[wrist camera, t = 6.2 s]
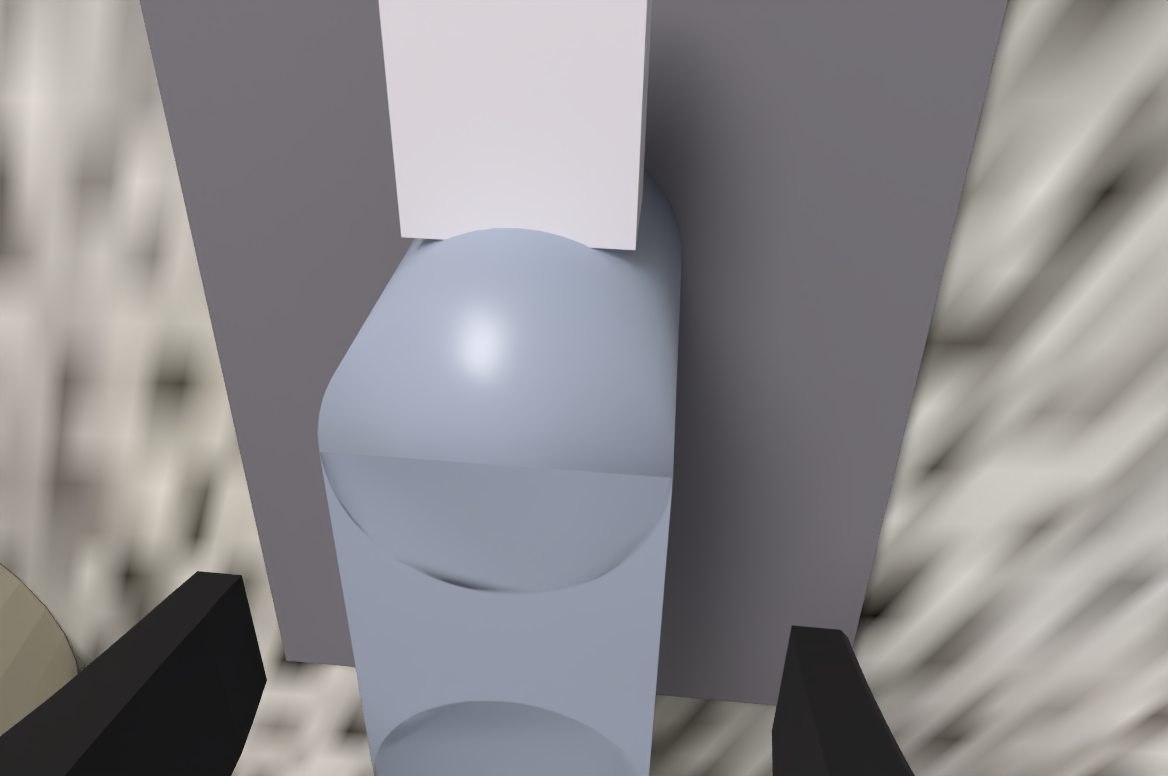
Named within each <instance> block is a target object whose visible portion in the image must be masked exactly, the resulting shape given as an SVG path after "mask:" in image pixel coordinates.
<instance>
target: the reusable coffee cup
mask: <svg viewBox="0 0 1168 776" xmlns="http://www.w3.org/2000/svg"><path fill="white" fill-rule="evenodd" d="M77 674H78V672H77V665H76V660H75V658H74V655H73V653H72V651H71V648H70V646H69V644H68V641H67V639H66V637H65V634H64V633H63V632H62V630H61V629H60V627H59V626H58V624H57V623H56V621H55V620H54V618H53V617H52V615H51V614H50V613H49V611H48V610H47V608H46V607H45V606H44V605H43V604H42V603H41V602H40V601H39V600H38V599H37V597H36V596H35V595H34V594H33V593H32V592H31V591H30V590H29V589H28V588H27V587H26V586H25V585H24V584H23V583H22V582H21V581H20V580H19V579H18V578H17V577H15V576H14V575H13V574H12V573H10V572H9V571H8V570H7V569H5V568H4V567H3V566H2V565H1V564H0V736H1V735H2V734H4V733H5V732H6V731H8V730H9V729H10V728H11V727H13V726H14V725H15V724H17V723H18V722H19V721H20V720H22V719H23V718H24V717H26V716H27V715H28V714H29V713H31V712H32V711H33V710H34V709H36V708H37V707H38V706H40V705H41V704H42V703H43V702H45V701H46V700H47V699H48V698H50V697H51V696H52V695H53V694H55V693H56V692H57V691H58V690H59V689H61V688H62V687H63V686H64V685H65V684H67V683H68V682H69V681H70V680H71V679H73V678H74V677H75V676H76V675H77Z"/></svg>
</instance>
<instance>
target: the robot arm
mask: <svg viewBox="0 0 1168 776" xmlns="http://www.w3.org/2000/svg"><path fill="white" fill-rule="evenodd" d="M266 681H267V679H266V675H265V671H264V666H263V662H262V658H261V654H260V650H259V646H258V641H257V637H256V633H255V629H254V625H253V621H252V616H251V612H250V608H249V604H248V600H247V596H246V591H245V587H244V583H243V579H242V575H232V574H221V573H210V572H199V571H198V572H196V573H195V574H194V575H193V576H192V577H190V578H189V579H188V580H187V581H186V582H185V583H183V584H182V585H181V586H180V587H179V588H177V589H176V590H175V591H174V592H173V593H172V594H170V595H169V596H168V597H167V598H166V599H165V600H163V601H162V602H161V603H160V604H159V605H158V606H156V607H155V608H154V609H153V610H152V611H151V612H150V613H148V614H147V615H146V616H145V617H144V618H143V619H142V620H140V621H139V622H138V623H137V624H136V625H135V626H134V627H132V628H131V629H130V630H129V631H128V632H127V633H126V634H124V635H123V636H122V637H121V638H120V639H119V640H117V641H116V642H115V643H114V644H113V645H112V646H111V647H109V648H108V649H107V650H106V651H105V652H104V653H102V654H101V655H100V656H99V657H98V658H96V659H95V660H94V661H93V662H92V663H90V664H89V665H88V666H87V667H86V668H84V669H83V670H82V671H81V672H80V673H79V674H77V675H76V676H75V677H74V678H73V679H71V680H70V681H69V682H68V683H67V684H65V685H64V686H63V687H62V688H61V689H59V690H58V691H57V692H56V693H55V694H53V695H52V696H51V697H50V698H48V699H47V700H46V701H45V702H43V703H42V704H41V705H40V706H38V707H37V708H36V709H34V710H33V711H32V712H31V713H29V714H28V715H27V716H26V717H24V718H23V719H22V720H20V721H19V722H18V723H17V724H15V725H14V726H13V727H11V728H10V729H9V730H8V731H6V732H5V733H4V734H2V735H1V736H0V776H231V775H232V773H233V771H234V768H235V766H236V764H237V762H238V760H239V758H240V756H241V753H242V751H243V748H244V745H245V742H246V740H247V737H248V734H249V731H250V729H251V726H252V723H253V720H254V717H255V714H256V711H257V708H258V705H259V702H260V699H261V696H262V693H263V690H264V687H265V684H266ZM772 758H773V776H915V775H914V774H913V772H912V770H911V768H910V766H909V765H908V763H907V761H906V759H905V757H904V756H903V754H902V752H901V750H900V748H899V746H898V744H897V743H896V741H895V739H894V737H893V735H892V733H891V731H890V729H889V727H888V725H887V723H886V721H885V719H884V717H883V715H882V713H881V711H880V709H879V707H878V705H877V703H876V701H875V699H874V697H873V694H872V692H871V690H870V688H869V686H868V684H867V681H866V679H865V677H864V675H863V672H862V670H861V668H860V666H859V663H858V661H857V658H856V656H855V654H854V651H853V649H852V646H851V644H850V641H849V638H848V637H847V636H846V635H845V634H844V633H843V631H842V630H838V629H827V628H816V627H805V626H794V625H792V626H791V632H790V637H789V643H788V648H787V653H786V659H785V664H784V669H783V675H782V680H781V685H780V691H779V696H778V702H777V707H776V712H775V718H774V723H773V728H772Z"/></svg>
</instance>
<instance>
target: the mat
mask: <svg viewBox="0 0 1168 776" xmlns="http://www.w3.org/2000/svg"><path fill="white" fill-rule="evenodd" d="M1007 2H1008V0H652V12H651V33H650V53H649V74H648V94H647V115H646V135H645V156H644V169H645V170H646V171H647V172H648V173H649V174H650V175H651V177H652V178H653V179H654V180H655V181H656V183H657V184H658V185H659V186H660V188H661V189H662V191H663V193H664V194H665V196H666V197H667V199H668V201H669V203H670V205H671V207H672V210H673V212H674V214H675V217H676V220H677V224H678V227H679V231H680V238H681V245H682V263H681V288H680V313H679V338H678V363H677V388H676V413H675V438H674V463H673V483H672V495H671V508H670V520H669V533H668V545H667V558H666V570H665V583H664V595H663V608H662V620H661V632H660V645H659V657H658V670H657V682H656V694H657V695H668V696H678V697H689V698H700V699H711V700H722V701H733V702H744V703H755V704H766V705H776V706H777V702H778V696H779V691H780V685H781V680H782V675H783V669H784V664H785V659H786V653H787V648H788V643H789V637H790V632H791V626H792V625H794V626H805V627H816V628H827V629H838V630H842V631H843V633H844V634H845V635H846V636H847V637H848V638H849V641H850V644H851V646H852V648H853V643H854V639H855V635H856V631H857V627H858V623H859V618H860V614H861V610H862V606H863V602H864V598H865V593H866V589H867V585H868V581H869V577H870V573H871V568H872V564H873V560H874V556H875V552H876V548H877V543H878V539H879V535H880V531H881V527H882V523H883V518H884V514H885V510H886V506H887V502H888V498H889V493H890V489H891V485H892V481H893V477H894V473H895V468H896V464H897V460H898V456H899V452H900V448H901V443H902V439H903V435H904V431H905V427H906V423H907V418H908V414H909V410H910V406H911V402H912V398H913V393H914V389H915V385H916V381H917V377H918V373H919V368H920V364H921V360H922V356H923V352H924V348H925V343H926V339H927V335H928V331H929V327H930V323H931V318H932V314H933V310H934V306H935V302H936V298H937V293H938V289H939V285H940V281H941V277H942V273H943V268H944V264H945V260H946V256H947V252H948V248H949V243H950V239H951V235H952V231H953V227H954V223H955V218H956V214H957V210H958V206H959V202H960V198H961V193H962V189H963V185H964V181H965V177H966V173H967V168H968V164H969V160H970V156H971V152H972V148H973V143H974V139H975V135H976V131H977V127H978V123H979V118H980V114H981V110H982V106H983V102H984V98H985V93H986V89H987V85H988V81H989V77H990V73H991V68H992V64H993V60H994V56H995V52H996V48H997V43H998V39H999V35H1000V31H1001V27H1002V23H1003V18H1004V14H1005V10H1006V6H1007ZM140 4H141V8H142V13H143V17H144V22H145V26H146V31H147V35H148V40H149V44H150V49H151V53H152V58H153V62H154V67H155V71H156V76H157V80H158V85H159V89H160V94H161V98H162V103H163V107H164V112H165V116H166V121H167V125H168V130H169V134H170V139H171V143H172V148H173V152H174V157H175V161H176V166H177V170H178V175H179V179H180V184H181V188H182V193H183V197H184V202H185V206H186V211H187V215H188V220H189V224H190V229H191V233H192V238H193V242H194V247H195V251H196V256H197V260H198V265H199V269H200V274H201V278H202V283H203V287H204V292H205V296H206V301H207V305H208V310H209V314H210V319H211V323H212V328H213V332H214V337H215V341H216V346H217V350H218V355H219V359H220V364H221V368H222V373H223V377H224V382H225V386H226V391H227V395H228V400H229V404H230V409H231V413H232V418H233V422H234V427H235V431H236V436H237V440H238V445H239V449H240V454H241V458H242V463H243V467H244V472H245V476H246V481H247V485H248V490H249V494H250V499H251V503H252V508H253V512H254V517H255V521H256V526H257V530H258V535H259V539H260V544H261V548H262V553H263V557H264V562H265V566H266V571H267V575H268V580H269V584H270V589H271V593H272V598H273V602H274V607H275V611H276V616H277V620H278V625H279V629H280V634H281V638H282V643H283V647H284V652H285V656H286V661H297V662H308V663H319V664H330V665H341V666H352V667H356V666H355V660H354V654H353V648H352V642H351V636H350V630H349V625H348V619H347V613H346V607H345V601H344V595H343V589H342V583H341V577H340V571H339V565H338V559H337V553H336V548H335V542H334V536H333V530H332V524H331V518H330V512H329V506H328V500H327V494H326V488H325V482H324V477H323V471H322V465H321V459H320V453H319V443H318V421H319V413H320V409H321V404H322V400H323V396H324V394H325V392H326V389H327V387H328V385H329V383H330V380H331V378H332V377H333V375H334V373H335V372H336V370H337V368H338V366H339V365H340V363H341V361H342V360H343V358H344V356H345V355H346V353H347V351H348V350H349V348H350V346H351V345H352V343H353V341H354V340H355V338H356V336H357V335H358V333H359V331H360V329H361V328H362V326H363V324H364V323H365V321H366V319H367V318H368V316H369V314H370V313H371V311H372V309H373V308H374V306H375V304H376V303H377V301H378V299H379V298H380V296H381V294H382V293H383V291H384V289H385V287H386V286H387V284H388V282H389V281H390V279H391V277H392V276H393V274H394V272H395V271H396V269H397V267H398V266H399V264H400V262H401V261H402V259H403V257H404V256H405V254H406V252H407V250H408V249H409V247H410V245H411V244H412V242H413V240H414V239H415V238H406V237H401V228H400V218H399V208H398V197H397V187H396V177H395V166H394V156H393V146H392V135H391V125H390V115H389V104H388V94H387V84H386V74H385V63H384V53H383V43H382V32H381V22H380V12H379V1H378V0H140Z"/></svg>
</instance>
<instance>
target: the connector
mask: <svg viewBox="0 0 1168 776" xmlns="http://www.w3.org/2000/svg"><path fill="white" fill-rule="evenodd" d="M378 1H379V12H380V22H381V32H382V43H383V53H384V63H385V74H386V84H387V94H388V104H389V115H390V125H391V135H392V146H393V156H394V166H395V177H396V187H397V197H398V208H399V218H400V228H401V237H406V238H415V239H414V240H413V242H412V244H411V245H410V247H409V249H408V250H407V252H406V254H405V256H404V257H403V259H402V261H401V262H400V264H399V266H398V267H397V269H396V271H395V272H394V274H393V276H392V277H391V279H390V281H389V282H388V284H387V286H386V287H385V289H384V291H383V293H382V294H381V296H380V298H379V299H378V301H377V303H376V304H375V306H374V308H373V309H372V311H371V313H370V314H369V316H368V318H367V319H366V321H365V323H364V324H363V326H362V328H361V329H360V331H359V333H358V335H357V336H356V338H355V340H354V341H353V343H352V345H351V346H350V348H349V350H348V351H347V353H346V355H345V356H344V358H343V360H342V361H341V363H340V365H339V366H338V368H337V370H336V372H335V373H334V375H333V377H332V378H331V380H330V383H329V385H328V387H327V389H326V392H325V394H324V396H323V400H322V404H321V409H320V413H319V421H318V443H319V453H320V459H321V465H322V471H323V477H324V482H325V488H326V494H327V500H328V506H329V512H330V518H331V524H332V530H333V536H334V542H335V548H336V553H337V559H338V565H339V571H340V577H341V583H342V589H343V595H344V601H345V607H346V613H347V619H348V625H349V630H350V636H351V642H352V648H353V654H354V660H355V666H356V672H357V678H358V684H359V690H360V696H361V701H362V707H363V713H364V719H365V725H366V731H367V737H368V743H369V749H370V755H371V761H372V767H373V772H374V776H649V769H650V757H651V745H652V732H653V720H654V707H655V695H656V682H657V670H658V657H659V645H660V632H661V620H662V608H663V595H664V583H665V570H666V558H667V545H668V533H669V520H670V508H671V495H672V483H673V463H674V438H675V413H676V388H677V363H678V338H679V313H680V288H681V263H682V245H681V238H680V231H679V227H678V224H677V220H676V217H675V214H674V212H673V210H672V207H671V205H670V203H669V201H668V199H667V197H666V196H665V194H664V193H663V191H662V189H661V188H660V186H659V185H658V184H657V183H656V181H655V180H654V179H653V178H652V177H651V175H650V174H649V173H648V172H647V171H646V170H645V169H644V156H645V135H646V115H647V94H648V74H649V53H650V33H651V12H652V0H378Z"/></svg>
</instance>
